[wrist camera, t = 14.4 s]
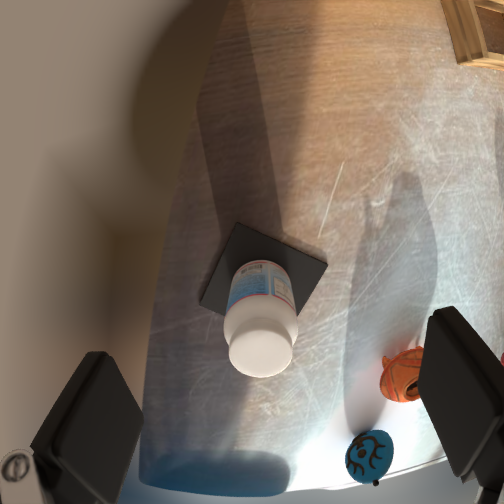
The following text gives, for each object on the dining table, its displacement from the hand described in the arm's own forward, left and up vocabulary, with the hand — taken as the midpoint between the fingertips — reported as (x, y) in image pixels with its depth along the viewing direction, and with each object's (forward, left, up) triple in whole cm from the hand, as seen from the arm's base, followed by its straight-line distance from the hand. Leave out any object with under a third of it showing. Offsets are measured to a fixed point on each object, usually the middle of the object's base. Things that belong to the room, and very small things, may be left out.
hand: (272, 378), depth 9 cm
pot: (+24, -10, -23) cm, 35 cm away
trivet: (+3, -8, -23) cm, 25 cm away
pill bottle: (+3, -8, -23) cm, 25 cm away
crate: (+13, +30, -23) cm, 40 cm away
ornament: (+29, -25, -23) cm, 45 cm away
